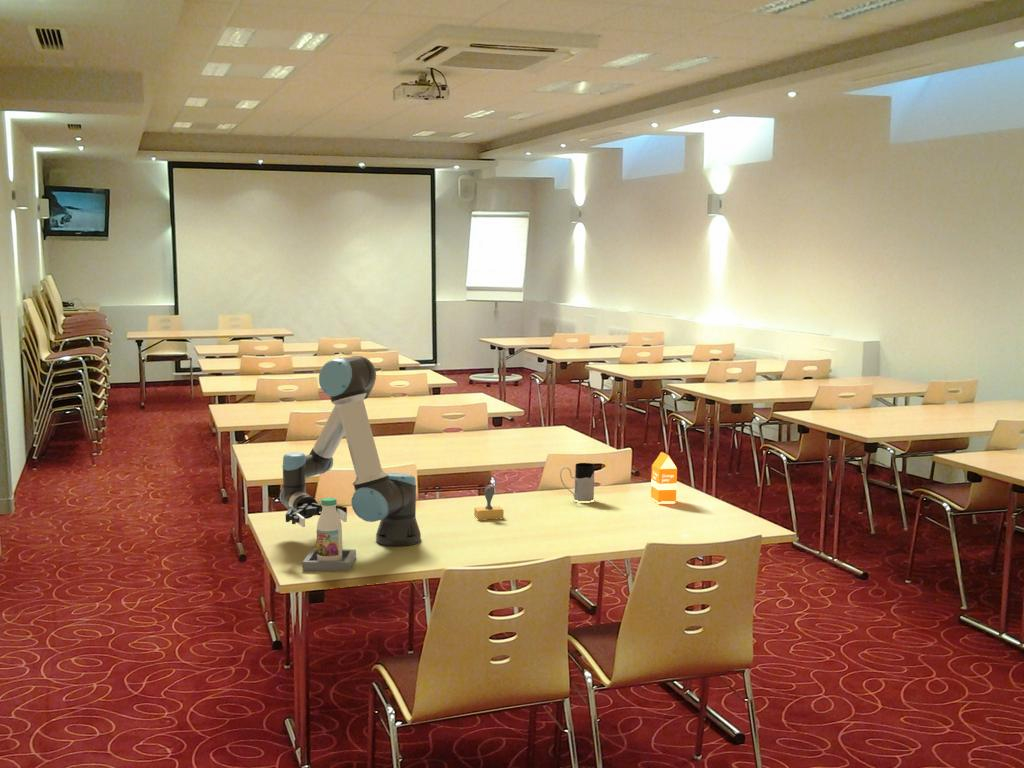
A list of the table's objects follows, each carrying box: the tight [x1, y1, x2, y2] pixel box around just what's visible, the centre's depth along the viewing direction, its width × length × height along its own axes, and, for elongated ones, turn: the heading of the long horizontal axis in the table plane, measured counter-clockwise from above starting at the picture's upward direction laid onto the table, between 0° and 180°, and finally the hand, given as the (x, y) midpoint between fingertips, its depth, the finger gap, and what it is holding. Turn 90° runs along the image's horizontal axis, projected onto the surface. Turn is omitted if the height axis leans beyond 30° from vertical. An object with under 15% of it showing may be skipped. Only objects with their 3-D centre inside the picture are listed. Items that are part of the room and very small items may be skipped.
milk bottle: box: [316, 497, 343, 561], centre depth 296 cm, size 8×8×20 cm
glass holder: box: [559, 462, 595, 501], centre depth 385 cm, size 9×14×15 cm, turn 91°
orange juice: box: [650, 451, 678, 502], centre depth 386 cm, size 8×9×20 cm
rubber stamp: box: [473, 486, 505, 521], centre depth 356 cm, size 10×6×12 cm, turn 106°
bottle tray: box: [301, 548, 357, 572], centre depth 297 cm, size 14×14×3 cm
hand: (325, 520), depth 299 cm, fingers open, 13 cm apart
